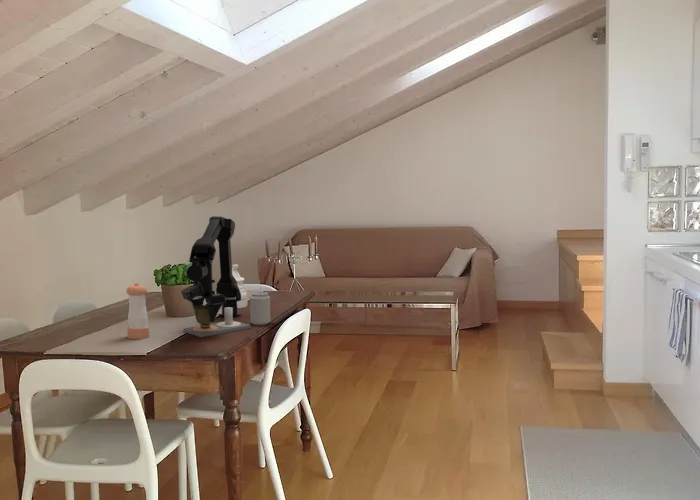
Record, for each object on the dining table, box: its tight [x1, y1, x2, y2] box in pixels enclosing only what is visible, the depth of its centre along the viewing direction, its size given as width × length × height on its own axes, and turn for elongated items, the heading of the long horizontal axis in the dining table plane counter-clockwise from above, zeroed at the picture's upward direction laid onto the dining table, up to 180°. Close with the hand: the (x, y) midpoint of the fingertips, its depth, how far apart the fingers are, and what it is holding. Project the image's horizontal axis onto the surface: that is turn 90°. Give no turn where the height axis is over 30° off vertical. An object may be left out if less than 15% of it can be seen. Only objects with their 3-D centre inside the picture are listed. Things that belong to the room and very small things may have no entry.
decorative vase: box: [193, 304, 213, 329], centre depth 254 cm, size 8×7×8 cm
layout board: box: [183, 307, 251, 338], centre depth 258 cm, size 12×21×8 cm, turn 133°
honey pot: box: [220, 264, 249, 309], centre depth 304 cm, size 13×13×18 cm
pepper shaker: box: [126, 282, 150, 340], centre depth 246 cm, size 7×7×19 cm
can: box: [249, 291, 271, 326], centre depth 268 cm, size 8×8×12 cm
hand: (205, 319), depth 254 cm, fingers open, 9 cm apart
